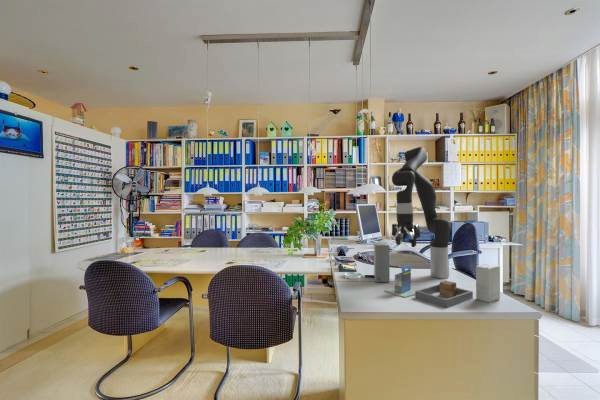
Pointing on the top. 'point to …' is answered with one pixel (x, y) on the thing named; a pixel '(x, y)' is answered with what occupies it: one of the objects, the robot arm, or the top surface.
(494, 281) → the skincare box
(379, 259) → the hard drive box
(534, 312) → the top surface
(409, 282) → the label tape box
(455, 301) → the parts bin
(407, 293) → the mat
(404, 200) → the robot arm
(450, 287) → the walnut block
